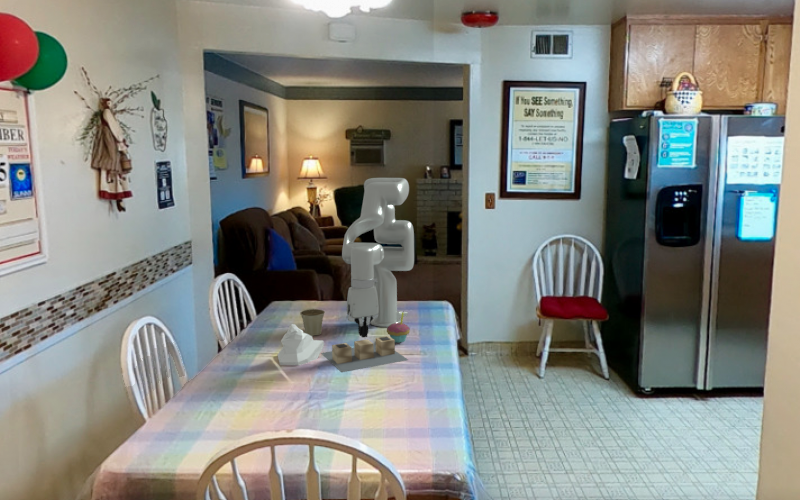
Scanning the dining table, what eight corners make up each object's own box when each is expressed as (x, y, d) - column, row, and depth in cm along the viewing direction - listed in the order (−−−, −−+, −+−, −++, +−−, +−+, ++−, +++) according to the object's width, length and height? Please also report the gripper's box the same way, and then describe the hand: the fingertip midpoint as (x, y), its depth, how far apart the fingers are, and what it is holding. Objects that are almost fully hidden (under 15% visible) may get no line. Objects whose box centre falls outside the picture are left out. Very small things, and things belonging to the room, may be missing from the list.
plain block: (367, 353, 203) (367, 339, 202) (373, 357, 199) (373, 343, 198) (354, 355, 201) (354, 341, 200) (360, 360, 196) (359, 345, 196)
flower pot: (323, 337, 222) (322, 315, 221) (298, 337, 222) (298, 315, 221) (327, 330, 231) (326, 309, 230) (303, 330, 231) (302, 309, 230)
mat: (383, 344, 214) (383, 342, 214) (408, 361, 196) (408, 359, 196) (321, 354, 203) (321, 353, 203) (341, 374, 186) (341, 372, 186)
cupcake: (410, 338, 220) (410, 307, 218) (408, 345, 212) (408, 314, 210) (388, 337, 221) (387, 307, 219) (385, 345, 213) (384, 313, 211)
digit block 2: (388, 349, 206) (388, 335, 206) (394, 353, 202) (394, 339, 201) (375, 351, 204) (375, 337, 203) (381, 356, 200) (381, 341, 199)
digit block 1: (346, 356, 199) (345, 342, 199) (351, 361, 195) (351, 346, 194) (332, 359, 197) (332, 344, 196) (337, 363, 193) (337, 348, 192)
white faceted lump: (314, 372, 191) (306, 336, 186) (272, 373, 195) (262, 337, 189) (325, 351, 203) (317, 315, 197) (285, 351, 206) (276, 317, 200)
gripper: (378, 279, 202) (378, 330, 205) (337, 283, 195) (338, 336, 198) (387, 283, 195) (388, 336, 198) (345, 288, 189) (346, 342, 192)
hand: (363, 336), depth 198 cm, fingers closed
